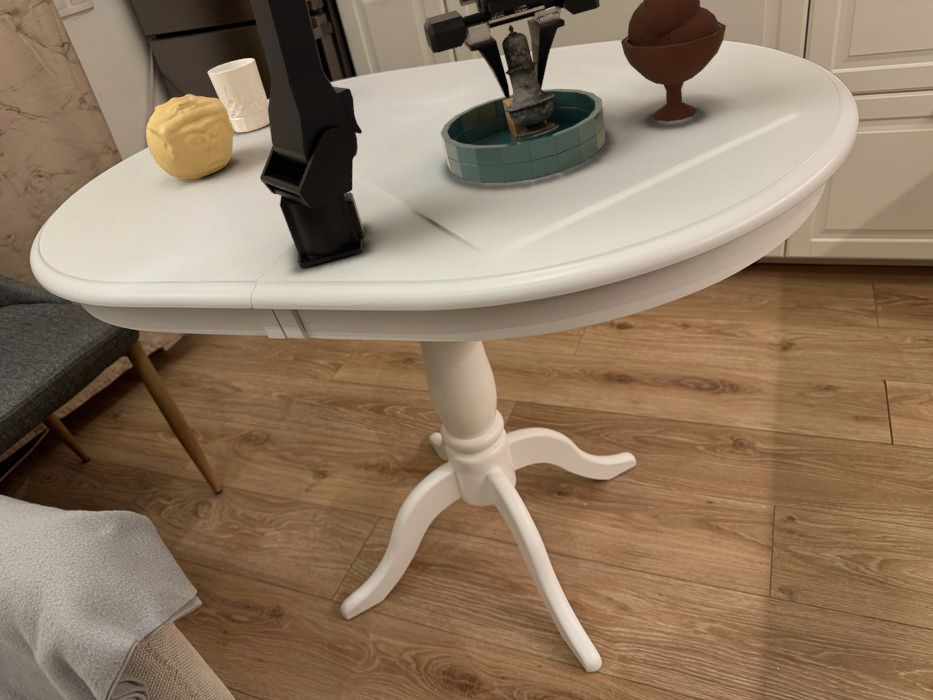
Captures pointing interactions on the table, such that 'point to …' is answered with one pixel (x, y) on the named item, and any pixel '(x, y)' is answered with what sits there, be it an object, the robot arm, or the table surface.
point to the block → (512, 126)
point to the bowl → (508, 160)
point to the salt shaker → (526, 89)
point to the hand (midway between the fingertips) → (523, 92)
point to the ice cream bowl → (672, 48)
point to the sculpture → (190, 136)
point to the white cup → (241, 94)
